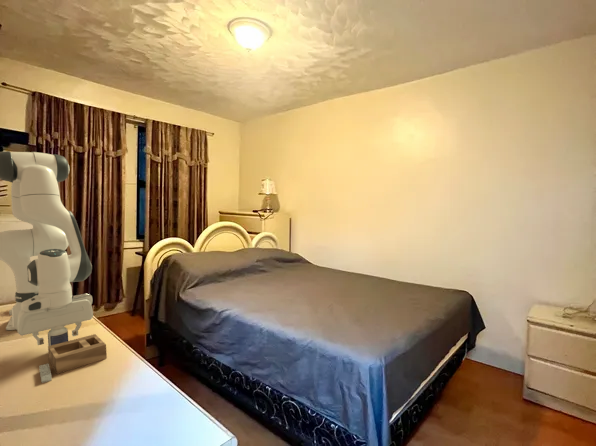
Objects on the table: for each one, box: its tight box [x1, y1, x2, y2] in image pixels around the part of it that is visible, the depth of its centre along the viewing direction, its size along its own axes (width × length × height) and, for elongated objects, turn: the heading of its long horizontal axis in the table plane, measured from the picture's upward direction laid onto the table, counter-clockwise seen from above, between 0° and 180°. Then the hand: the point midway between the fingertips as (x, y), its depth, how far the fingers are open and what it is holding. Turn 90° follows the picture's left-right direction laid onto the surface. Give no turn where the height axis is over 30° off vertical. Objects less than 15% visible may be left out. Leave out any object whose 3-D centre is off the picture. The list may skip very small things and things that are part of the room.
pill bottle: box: [47, 326, 69, 347], centre depth 109 cm, size 5×5×10 cm
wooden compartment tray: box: [47, 333, 108, 375], centre depth 104 cm, size 12×13×4 cm
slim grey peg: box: [38, 362, 53, 384], centre depth 94 cm, size 8×2×2 cm, turn 41°
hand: (58, 339), depth 109 cm, fingers open, 8 cm apart
